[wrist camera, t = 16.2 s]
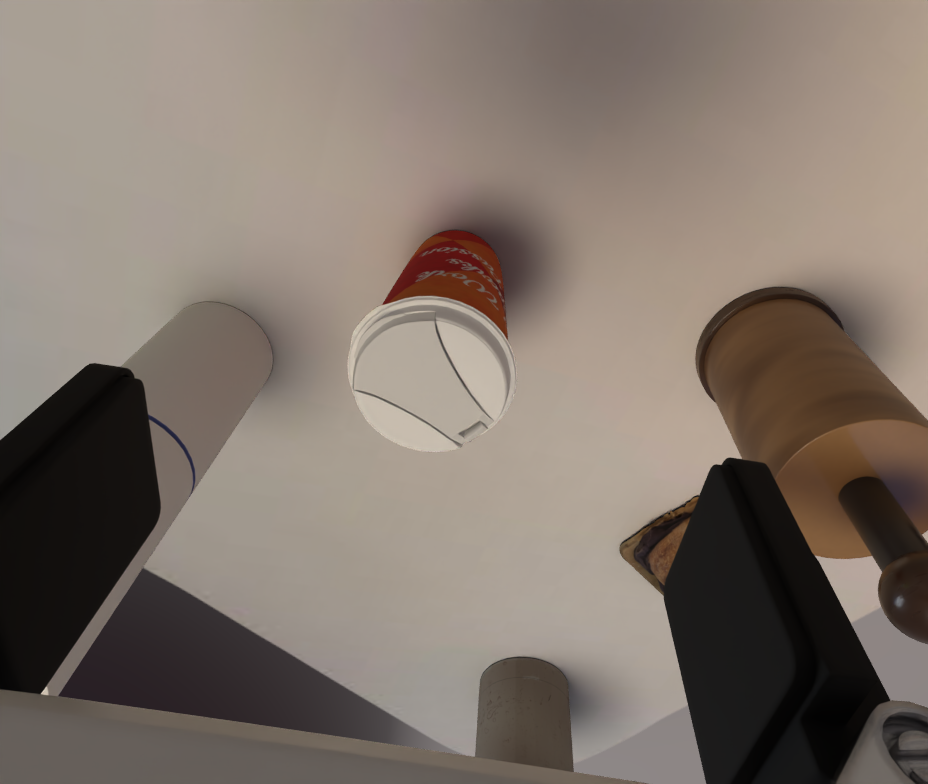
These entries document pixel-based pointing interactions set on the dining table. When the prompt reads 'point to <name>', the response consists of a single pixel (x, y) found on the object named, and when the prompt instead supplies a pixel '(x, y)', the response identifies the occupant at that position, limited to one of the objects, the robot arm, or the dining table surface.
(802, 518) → the paper towel holder
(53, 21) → the dining table surface
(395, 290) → the paper cup
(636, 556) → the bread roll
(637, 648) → the dining table surface
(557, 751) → the thermos bottle
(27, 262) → the dining table surface
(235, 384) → the cylindrical container
